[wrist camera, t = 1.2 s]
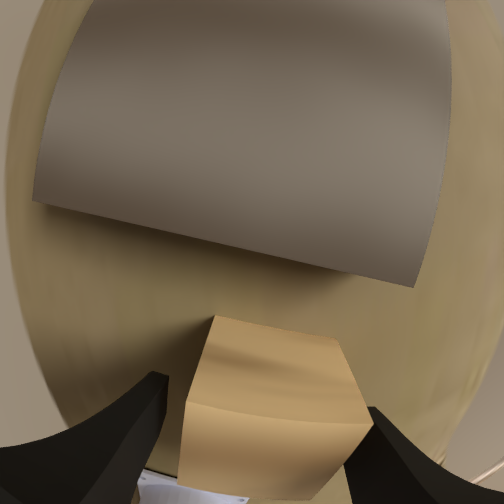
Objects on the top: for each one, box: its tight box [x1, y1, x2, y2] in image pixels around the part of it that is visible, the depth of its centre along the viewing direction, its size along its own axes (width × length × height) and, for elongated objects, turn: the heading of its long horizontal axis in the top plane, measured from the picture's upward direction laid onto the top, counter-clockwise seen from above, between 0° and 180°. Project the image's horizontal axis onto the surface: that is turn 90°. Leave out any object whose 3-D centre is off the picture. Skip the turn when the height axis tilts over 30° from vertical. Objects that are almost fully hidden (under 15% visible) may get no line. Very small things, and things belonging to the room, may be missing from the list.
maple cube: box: [177, 315, 374, 500], centre depth 9 cm, size 5×5×5 cm
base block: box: [32, 0, 452, 288], centre depth 7 cm, size 12×12×3 cm
